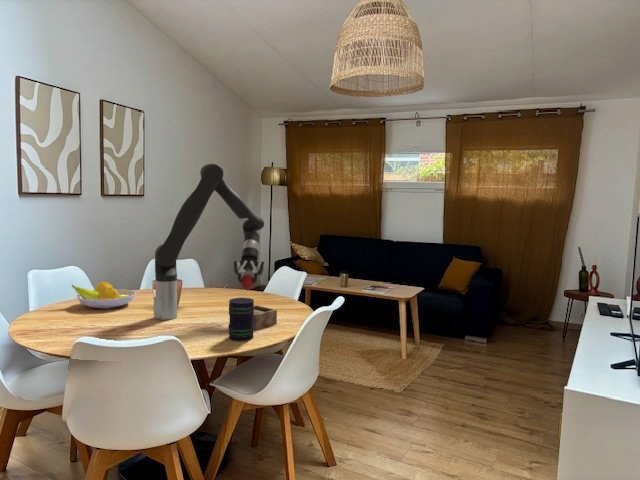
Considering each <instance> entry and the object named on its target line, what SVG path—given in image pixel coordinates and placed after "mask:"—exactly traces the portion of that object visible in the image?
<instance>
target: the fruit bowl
mask: <svg viewBox="0 0 640 480" xmlns="http://www.w3.org/2000/svg"><path fill="white" fill-rule="evenodd" d="M71 287H72V288H73V289H74V291H75V292H76V293H77V295H76V297H77V299H78V301H79V303H80V304H82V305H85V306H87V307H89V308H92V307H93V309H103V310H110V309H113V308H119V307H123V306H125V305H126V304H128V303H130V302H133V300H134V298H135V296H136V295H137V292H136V291H134V290H133V289H125V288H124V289H123V288H114V286H113V285H112V284H110V283H109V282H107V281H101V282H99V283H98V284H97V285H96V286H95V288H94V290H91V289H87V288H84V287H79V286H75V285H74V284H71Z"/></svg>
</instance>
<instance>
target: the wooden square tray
mask: <svg viewBox="0 0 640 480" xmlns="http://www.w3.org/2000/svg"><path fill="white" fill-rule="evenodd" d="M277 315H278V309H276V308H271V307H266V306H261V305H259V304H254V314H253V324H254V331H255V330H258V329H263V328H266V327H269V326H273V325H276V324H277V321H278V320H277V318H278V316H277Z"/></svg>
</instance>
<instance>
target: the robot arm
mask: <svg viewBox="0 0 640 480" xmlns="http://www.w3.org/2000/svg"><path fill="white" fill-rule="evenodd" d="M199 173H200V180H199V182H198V184H197V186H196V188H195V189H194V190H193V192H191V194H190V195H189V196H188V197H187V198H186V200H185V201H184V202H183V203H182V205H181V207H180V209H179V210H178V212H177V215H176V217H175V219H174V222H173V225H172V226H171V227H172V228H171V230H170V232H169V235H168V236H167V238H166V239H165V241H164V242H163V243H162V244H161V245H159V246H158V247H157V248H156V249H155V251H154V275H155V277H154V278H155V296H154V297H153V318H154V319H157V320H160V321H163V320H164V321H165V320H166V321H167V320H173V319H176V318H178V271H177V260H178V257H179V255H180V253H181V250H182V248H183V246H184V243H185V242H186V240H187V239H188V237H189V236H190V234H191V233H192V231H193V230H194V228H195V227H196V225H197V223H198V221H199V220H200V218H201V216H202V214H203V212H204V210H205V208H206V207H207V204H208V203H209V200H210V198H211V197H212V195H213V193H214V192H216V193H217V194H218V195H219V196H220V198H221V199H222V200H223V201H224V202H225V204H226V205H227V206H228V207H229V209H230V210H231V211H232V213H234V215H235V216H236V217H237V218H238V219H240V220H242V219H246V220H245V221H244V222H243V224H242V231H243V235H244V238H243V239H244V240H243V244H242V245H243V246H242V251H241V257H240V258H241V259H240V261H236V260H234V261H233V266H234V267H233V268H234V269H233V270H234V275H235V276H236V275H237V282H238V283H239V284H241V280H242V278H243V274H244V273H245V272H247V271H252V272H253V279H254V284H256V282H258V276H262V275H263V272H264V269H265V268H264V267H265V262H264V261H261V262H260V261H259V253H260V234H259V233H258V231H260V230H262V229H264V226H265V221H264V219H263V217H262V216H261V215H259V214H258V213H256V212H255V211H254V210H253V209H251V208H250V207H249V206H248V205H247V204H246V202H245V201H244V200H243V198H242V197H240V196H239V194H237V193H236V192H235V191H234V190H233V189H232V188H231V187H230V185H228V184H227V182H226V181H225V179H224V169H223V168H222V166H220V164H217V163H207V164H203V166H202V167H201V168H200V172H199ZM239 266H240V268H239ZM258 266H259V270H257V267H258ZM238 268H239V270H238Z"/></svg>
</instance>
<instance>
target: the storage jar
mask: <svg viewBox="0 0 640 480" xmlns="http://www.w3.org/2000/svg"><path fill="white" fill-rule="evenodd" d="M254 302H255V299H253V298H249V297H235V298H231V299H229V301H228V315H229V322H228V323H229V324H228V339H229V340H231V341H234V342H247V341H250V340H253V339H254V332H255V329H254V324H253V314H254V305H255V304H254Z"/></svg>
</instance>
